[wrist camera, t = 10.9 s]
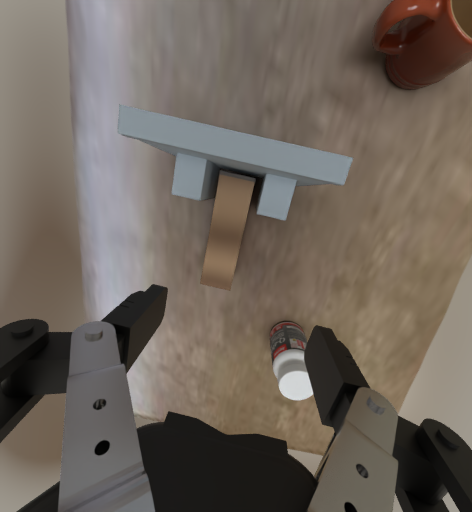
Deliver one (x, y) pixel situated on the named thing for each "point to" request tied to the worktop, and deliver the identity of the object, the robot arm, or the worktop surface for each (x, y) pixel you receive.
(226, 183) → the bed rail
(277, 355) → the pill bottle
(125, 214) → the worktop surface
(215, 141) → the grey two-legged bench
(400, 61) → the mug
